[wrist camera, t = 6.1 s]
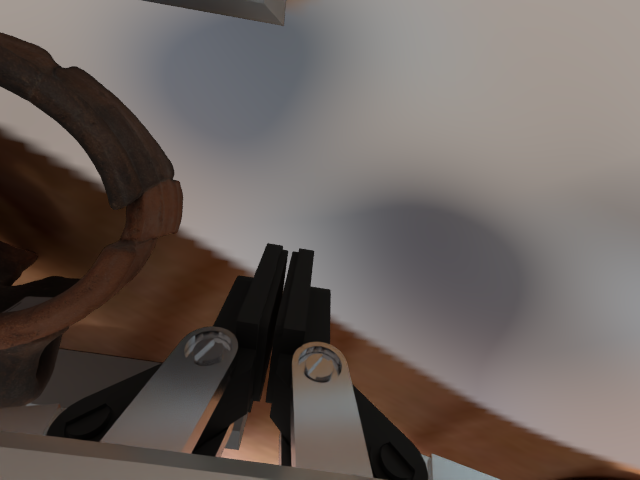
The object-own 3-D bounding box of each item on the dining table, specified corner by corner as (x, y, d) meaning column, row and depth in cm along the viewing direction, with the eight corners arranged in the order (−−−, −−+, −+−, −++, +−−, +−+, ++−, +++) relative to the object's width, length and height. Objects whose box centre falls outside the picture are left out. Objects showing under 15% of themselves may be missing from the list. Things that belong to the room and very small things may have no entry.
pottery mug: (-123, 52, 11) (-710, -174, 4) (175, 95, 15) (181, 30, 8) (-52, 358, 13) (-310, 586, 6) (185, 322, 17) (197, 434, 10)
